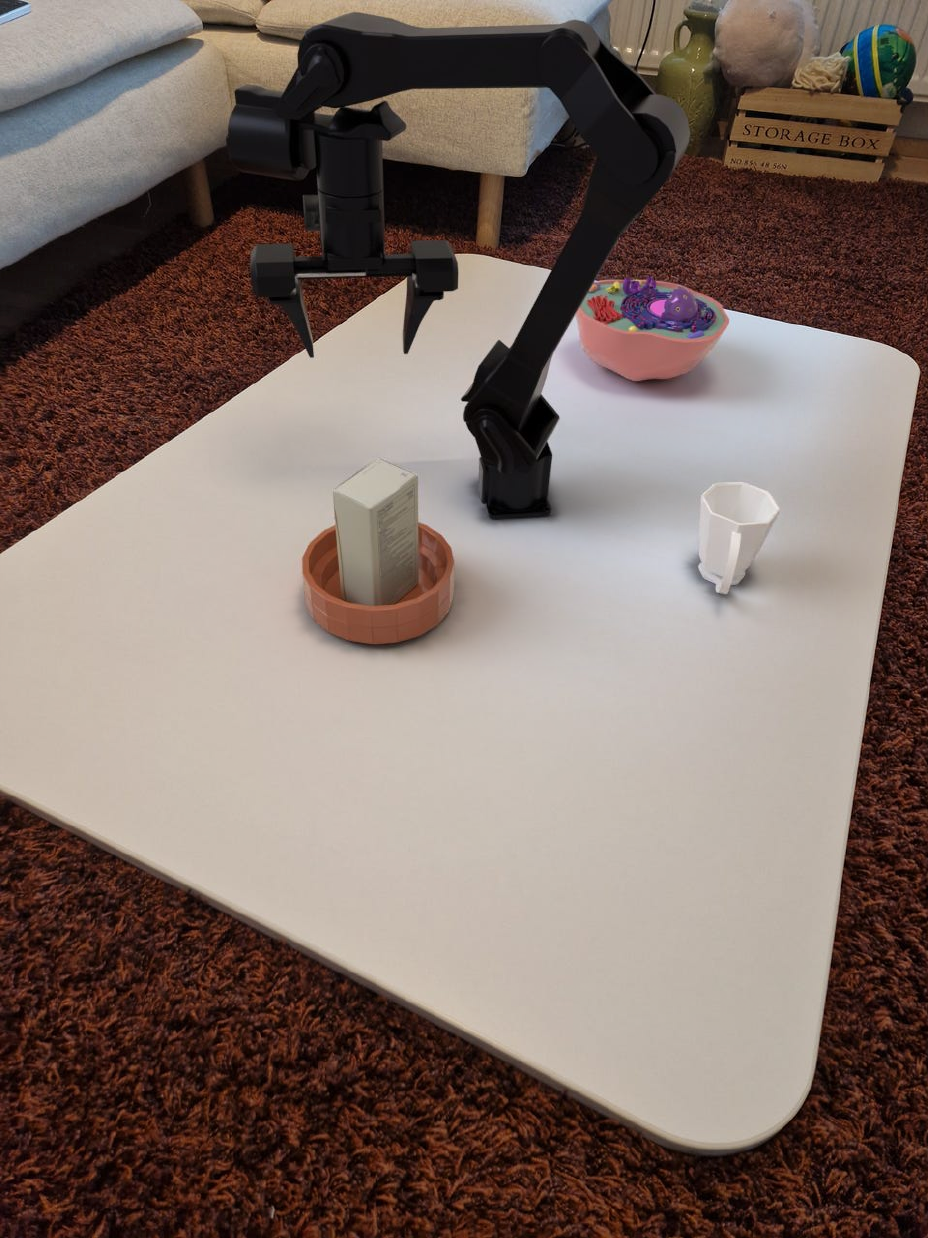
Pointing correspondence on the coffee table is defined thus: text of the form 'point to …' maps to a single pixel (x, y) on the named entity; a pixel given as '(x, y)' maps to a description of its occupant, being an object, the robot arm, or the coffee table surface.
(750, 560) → the cup
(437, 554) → the terracotta bowl
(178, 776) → the coffee table surface
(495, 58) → the robot arm
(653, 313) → the cell model
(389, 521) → the cosmetic box
